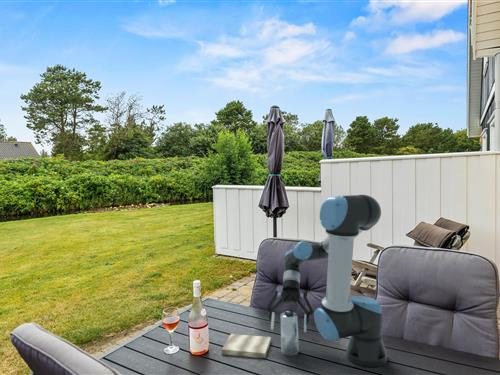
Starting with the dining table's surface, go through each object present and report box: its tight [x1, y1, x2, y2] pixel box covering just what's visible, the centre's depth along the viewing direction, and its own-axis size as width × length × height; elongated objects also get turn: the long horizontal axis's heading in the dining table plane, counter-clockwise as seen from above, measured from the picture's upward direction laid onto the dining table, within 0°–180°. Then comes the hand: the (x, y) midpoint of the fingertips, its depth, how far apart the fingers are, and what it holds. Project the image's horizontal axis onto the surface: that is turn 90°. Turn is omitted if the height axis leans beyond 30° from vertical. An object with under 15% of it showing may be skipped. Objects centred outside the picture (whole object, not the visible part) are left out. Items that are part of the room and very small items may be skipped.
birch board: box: [221, 333, 272, 359], centre depth 144 cm, size 18×14×2 cm
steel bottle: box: [279, 309, 300, 357], centre depth 140 cm, size 7×7×17 cm
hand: (288, 330), depth 141 cm, fingers open, 13 cm apart
